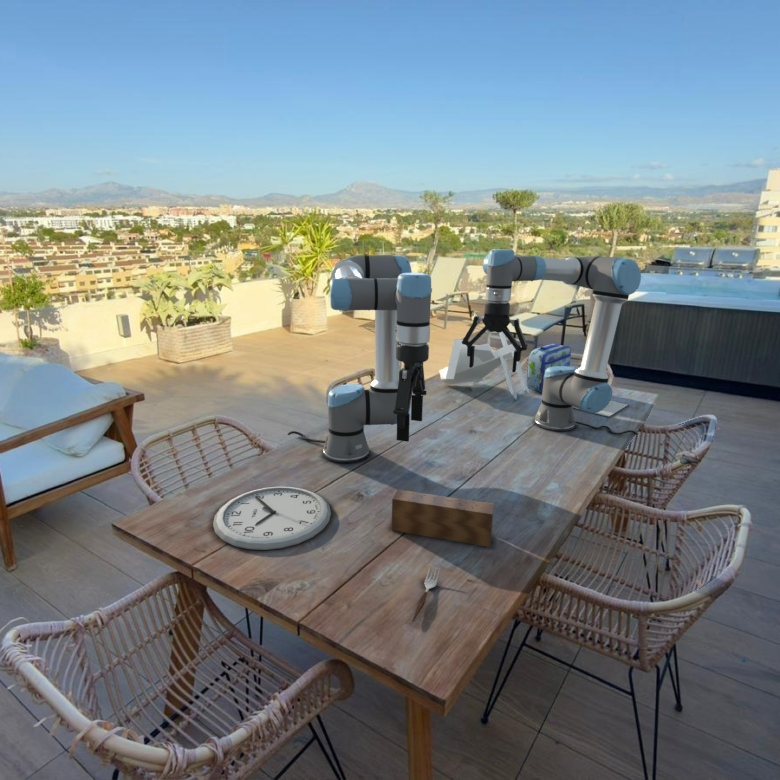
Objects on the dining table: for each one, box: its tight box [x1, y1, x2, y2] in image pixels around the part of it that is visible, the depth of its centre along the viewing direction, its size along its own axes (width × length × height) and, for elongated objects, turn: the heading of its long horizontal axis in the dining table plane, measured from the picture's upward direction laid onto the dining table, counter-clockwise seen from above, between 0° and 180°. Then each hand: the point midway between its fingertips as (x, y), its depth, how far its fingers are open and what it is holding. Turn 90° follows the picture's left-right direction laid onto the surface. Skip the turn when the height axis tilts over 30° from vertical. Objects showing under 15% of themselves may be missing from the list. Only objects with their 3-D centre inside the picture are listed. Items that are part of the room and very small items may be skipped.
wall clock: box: [212, 486, 332, 551], centre depth 136 cm, size 30×2×30 cm
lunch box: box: [526, 343, 572, 394], centre depth 248 cm, size 26×11×21 cm, turn 135°
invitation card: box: [573, 400, 629, 418], centre depth 226 cm, size 21×1×15 cm
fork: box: [412, 565, 441, 623], centre depth 107 cm, size 3×16×2 cm, turn 160°
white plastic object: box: [438, 332, 531, 400], centre depth 245 cm, size 37×45×31 cm
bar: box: [391, 489, 495, 548], centre depth 129 cm, size 24×5×9 cm, turn 74°
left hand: (409, 430), depth 125 cm, fingers open, 13 cm apart
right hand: (492, 369), depth 166 cm, fingers open, 13 cm apart
